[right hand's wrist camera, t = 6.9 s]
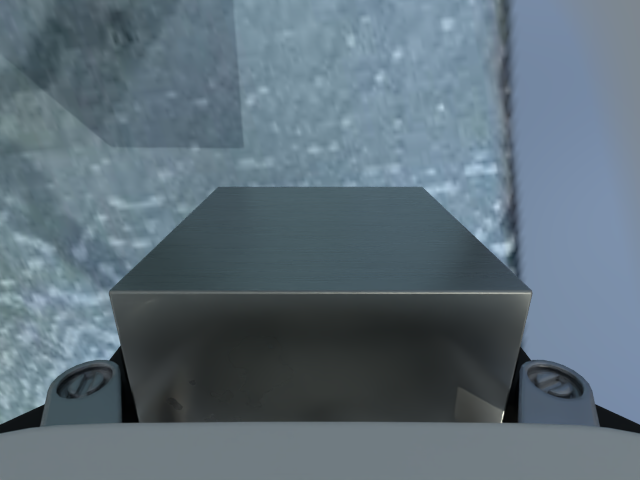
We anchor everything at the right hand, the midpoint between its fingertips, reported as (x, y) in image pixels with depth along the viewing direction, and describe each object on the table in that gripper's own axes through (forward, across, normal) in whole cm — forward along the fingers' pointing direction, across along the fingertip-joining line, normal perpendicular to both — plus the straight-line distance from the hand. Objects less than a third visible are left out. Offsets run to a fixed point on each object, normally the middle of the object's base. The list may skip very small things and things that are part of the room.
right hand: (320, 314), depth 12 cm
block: (+2, 0, 0) cm, 2 cm away
